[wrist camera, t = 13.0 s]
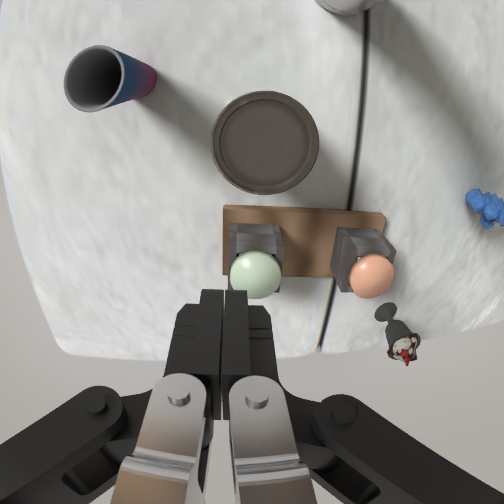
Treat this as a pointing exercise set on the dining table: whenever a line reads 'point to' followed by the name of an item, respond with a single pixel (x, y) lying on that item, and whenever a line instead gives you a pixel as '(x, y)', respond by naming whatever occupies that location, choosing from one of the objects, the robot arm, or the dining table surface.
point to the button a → (255, 274)
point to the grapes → (486, 207)
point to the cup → (106, 79)
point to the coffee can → (264, 142)
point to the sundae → (398, 335)
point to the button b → (371, 275)
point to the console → (304, 239)
